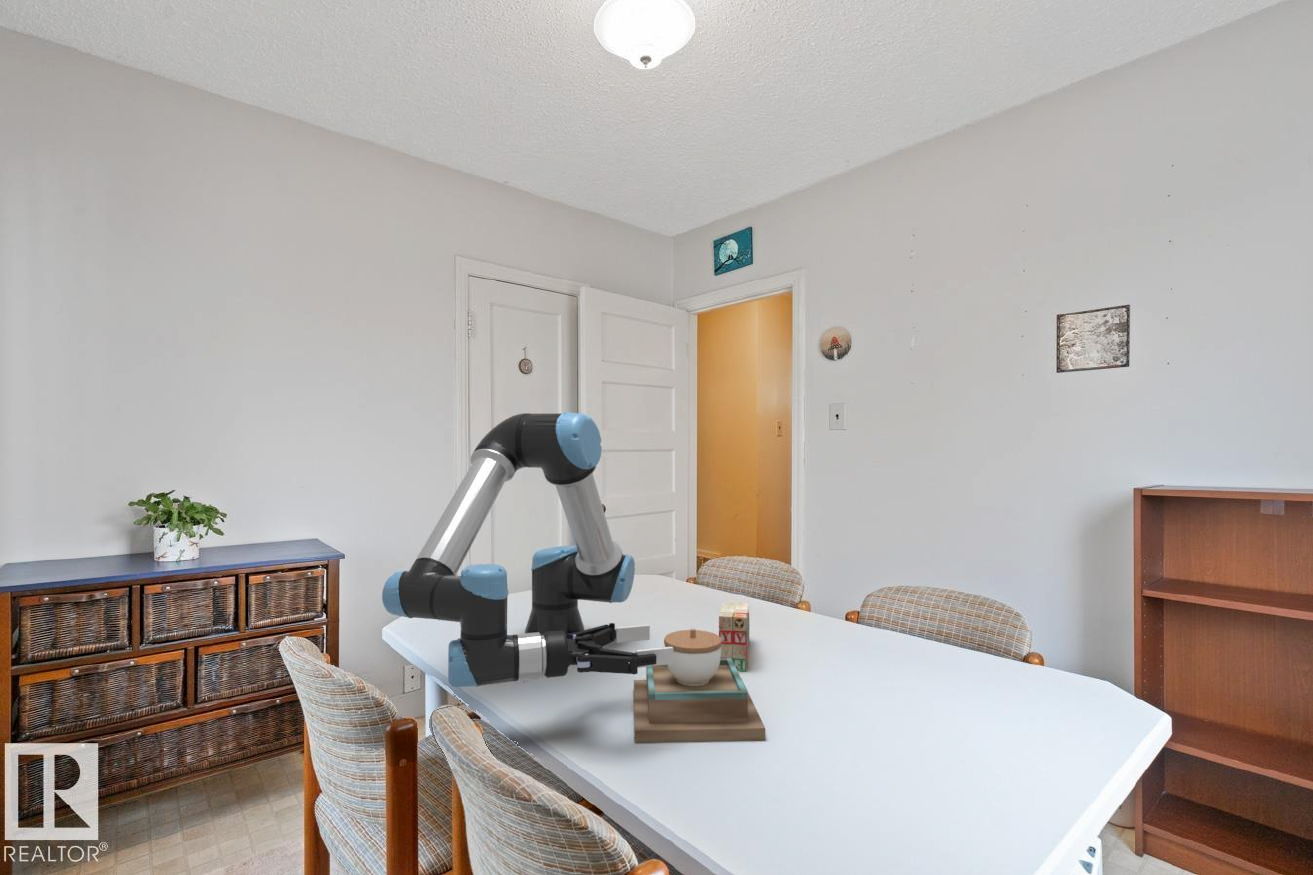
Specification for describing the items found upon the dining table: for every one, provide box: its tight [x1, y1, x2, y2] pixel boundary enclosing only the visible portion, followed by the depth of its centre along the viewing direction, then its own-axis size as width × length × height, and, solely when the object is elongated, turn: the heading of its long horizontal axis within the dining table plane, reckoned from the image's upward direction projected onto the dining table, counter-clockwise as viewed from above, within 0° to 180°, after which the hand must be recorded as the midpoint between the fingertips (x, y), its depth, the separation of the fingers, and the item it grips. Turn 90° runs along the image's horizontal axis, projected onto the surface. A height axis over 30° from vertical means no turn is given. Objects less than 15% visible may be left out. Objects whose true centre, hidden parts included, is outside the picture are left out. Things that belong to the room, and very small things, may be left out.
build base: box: [633, 658, 766, 744], centre depth 114 cm, size 22×22×7 cm
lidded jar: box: [663, 628, 722, 686], centre depth 114 cm, size 11×11×9 cm
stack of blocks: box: [718, 601, 750, 673], centre depth 145 cm, size 21×6×12 cm, turn 170°
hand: (660, 642), depth 112 cm, fingers open, 13 cm apart
